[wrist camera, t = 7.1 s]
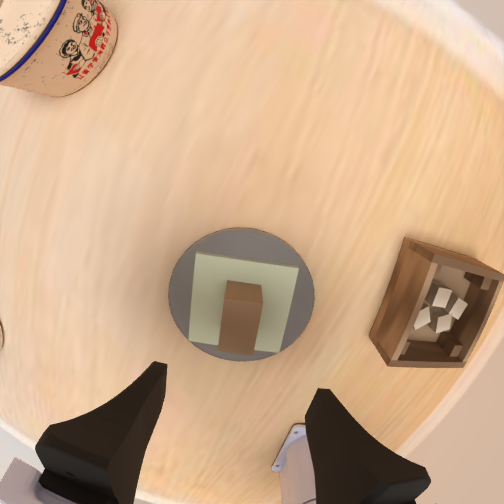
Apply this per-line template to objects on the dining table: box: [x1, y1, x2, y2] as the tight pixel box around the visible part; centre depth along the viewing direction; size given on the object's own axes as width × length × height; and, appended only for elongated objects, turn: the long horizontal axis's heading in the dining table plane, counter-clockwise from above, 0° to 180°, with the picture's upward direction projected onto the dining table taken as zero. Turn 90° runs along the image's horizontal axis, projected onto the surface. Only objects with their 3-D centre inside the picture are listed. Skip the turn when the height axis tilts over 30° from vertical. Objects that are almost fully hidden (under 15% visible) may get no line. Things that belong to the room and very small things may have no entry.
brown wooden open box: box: [369, 238, 504, 368], centre depth 21 cm, size 9×9×4 cm
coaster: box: [169, 228, 314, 361], centre depth 23 cm, size 11×11×1 cm
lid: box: [188, 251, 299, 356], centre depth 21 cm, size 7×7×4 cm
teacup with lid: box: [0, 0, 117, 97], centre depth 11 cm, size 12×9×12 cm
